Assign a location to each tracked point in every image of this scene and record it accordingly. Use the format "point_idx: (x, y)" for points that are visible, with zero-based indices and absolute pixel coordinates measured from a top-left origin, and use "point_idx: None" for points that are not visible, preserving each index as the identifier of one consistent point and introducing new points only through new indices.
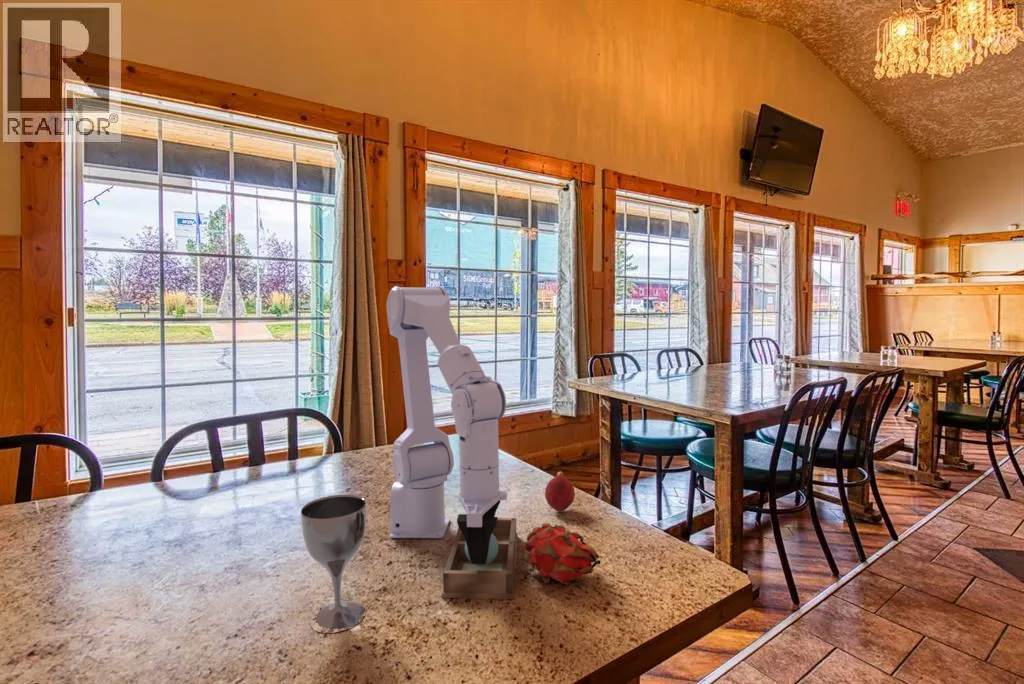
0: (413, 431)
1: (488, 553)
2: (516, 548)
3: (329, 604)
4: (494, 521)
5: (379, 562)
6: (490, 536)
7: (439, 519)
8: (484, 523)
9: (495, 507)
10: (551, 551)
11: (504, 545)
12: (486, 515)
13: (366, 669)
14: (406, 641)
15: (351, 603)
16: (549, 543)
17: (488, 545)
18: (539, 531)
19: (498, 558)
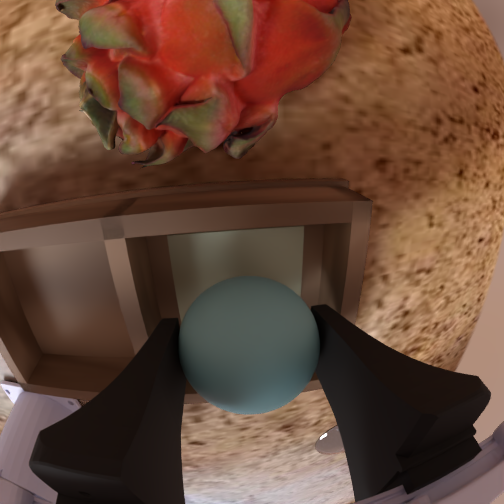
0: None
1: (312, 315)
2: (53, 204)
3: (326, 452)
4: (483, 399)
5: (198, 452)
6: (416, 360)
7: (46, 420)
8: (472, 423)
9: (140, 444)
10: (341, 20)
11: (129, 254)
12: (160, 429)
13: (454, 363)
14: (428, 348)
15: (331, 439)
16: (331, 14)
17: (375, 339)
18: (159, 67)
19: (145, 255)
